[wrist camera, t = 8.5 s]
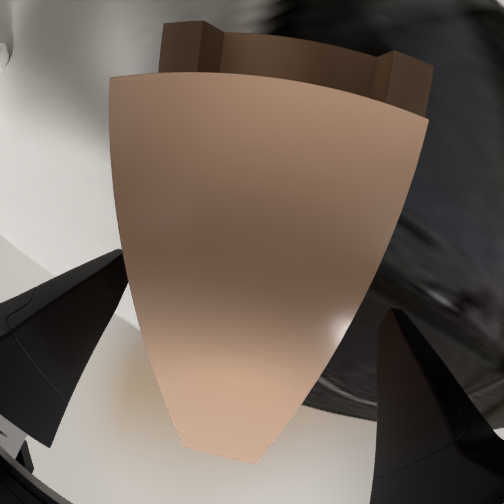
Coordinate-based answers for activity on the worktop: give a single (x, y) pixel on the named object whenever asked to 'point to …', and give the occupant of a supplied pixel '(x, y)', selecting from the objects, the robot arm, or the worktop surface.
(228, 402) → the tan rectangular block
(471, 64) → the worktop surface
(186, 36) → the track
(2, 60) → the lightbulb
